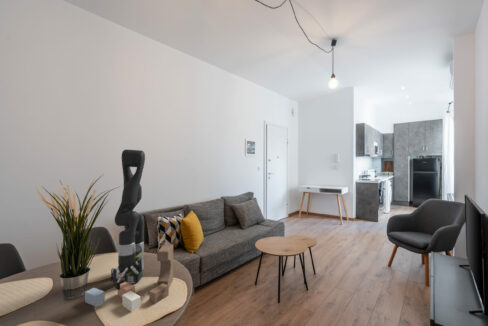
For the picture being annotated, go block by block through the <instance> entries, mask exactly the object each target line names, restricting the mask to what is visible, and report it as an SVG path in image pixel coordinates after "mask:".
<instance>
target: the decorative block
mask: <svg viewBox="0 0 488 326" xmlns="http://www.w3.org/2000/svg"><path fill="white" fill-rule="evenodd" d="M156 253H157V255H156V256H157V257H156V261H157V262H159V263H160V270H159V275H158V276H159V277H158V279H157V282H156V283H157V284H156V287H157V286H159V285H161V284H163V283H164V284H166V285H169V288H170V287H171V284H172V283H173V280H174V244H173V243H169V244H168V243H163V245H162V246H161V247H160V248H159V250H157V252H156Z"/></svg>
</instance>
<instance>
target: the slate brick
mask: <svg viewBox="0 0 488 326" xmlns="http://www.w3.org/2000/svg"><path fill="white" fill-rule="evenodd" d="M105 292H106V291H105V290H102V289H99V288H96V287H92V288H90V289H88V290H86V291H84V303H86V304H88V305H91V306H93V307H95V306H97V307H98V305H99V306H101V305H102V304H103V303H105V299H106V297H105V296H106V293H105Z"/></svg>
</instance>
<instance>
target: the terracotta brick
mask: <svg viewBox="0 0 488 326" xmlns="http://www.w3.org/2000/svg"><path fill="white" fill-rule="evenodd" d="M130 291H132V292H134V293H135V294H136V286H135V285H133V284H129V283H127V282H125V281H123V282H122V283H120V290H117V296H118V297H120V298H122V295H123V294H125V293H127V292H130Z"/></svg>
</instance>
